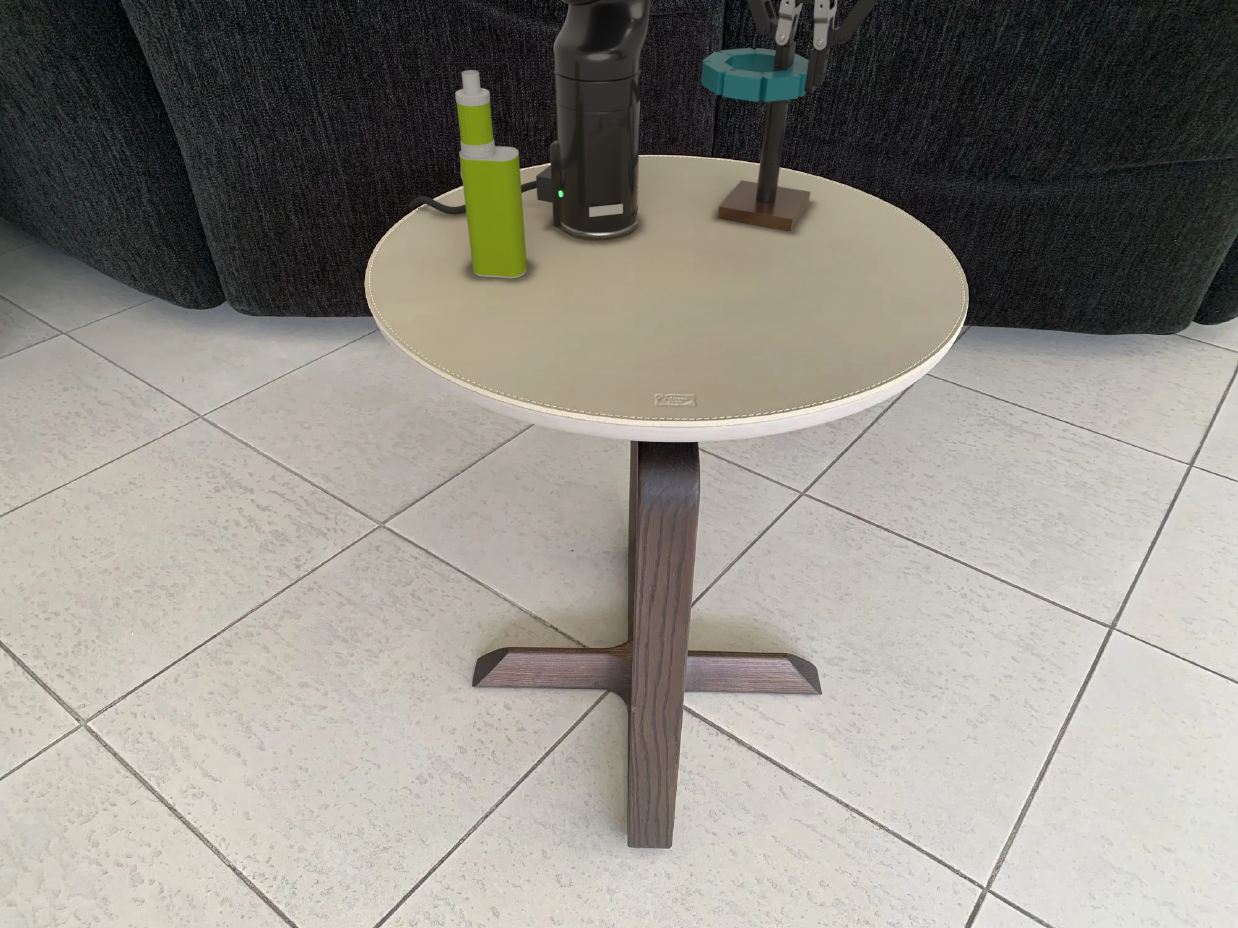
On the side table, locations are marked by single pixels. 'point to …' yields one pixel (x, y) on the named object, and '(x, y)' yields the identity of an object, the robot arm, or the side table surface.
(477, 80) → the vape
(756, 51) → the ring
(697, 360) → the side table surface
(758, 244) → the side table surface
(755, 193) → the peg stand
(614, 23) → the robot arm
